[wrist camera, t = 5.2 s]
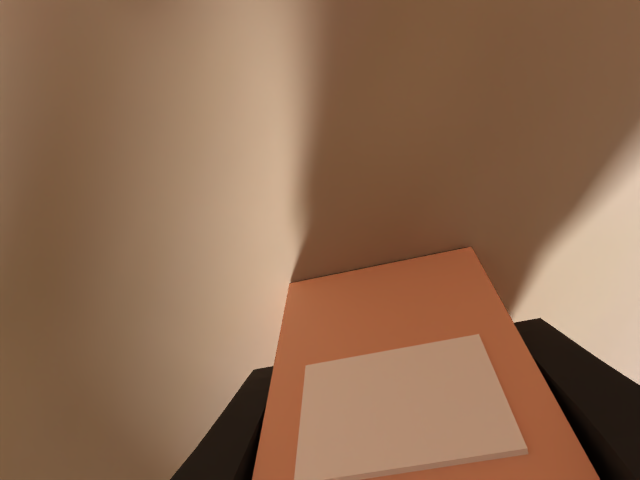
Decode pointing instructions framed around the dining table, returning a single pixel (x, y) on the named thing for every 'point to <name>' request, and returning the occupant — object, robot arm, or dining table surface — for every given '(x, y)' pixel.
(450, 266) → the stub tab
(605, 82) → the dining table surface
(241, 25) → the dining table surface
